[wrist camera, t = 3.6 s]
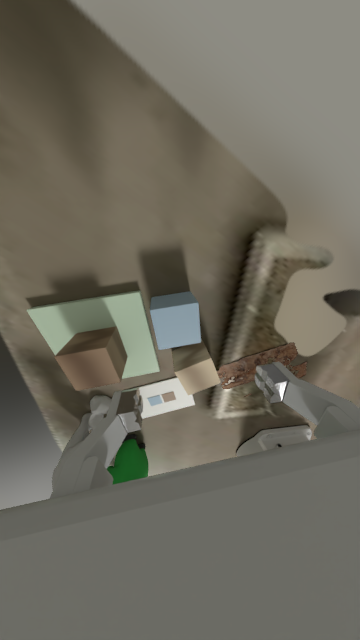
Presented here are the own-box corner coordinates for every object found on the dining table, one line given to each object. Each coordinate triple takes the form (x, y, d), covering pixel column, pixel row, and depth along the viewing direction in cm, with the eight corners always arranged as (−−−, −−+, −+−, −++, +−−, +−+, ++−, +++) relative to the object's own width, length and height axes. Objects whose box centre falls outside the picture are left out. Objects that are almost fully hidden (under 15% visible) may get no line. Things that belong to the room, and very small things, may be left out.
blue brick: (190, 291, 21) (198, 302, 17) (193, 324, 24) (201, 342, 19) (151, 297, 21) (149, 310, 17) (158, 330, 23) (158, 349, 19)
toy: (105, 438, 33) (70, 565, 20) (152, 421, 33) (147, 540, 20) (126, 456, 38) (108, 571, 24) (167, 442, 37) (173, 550, 24)
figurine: (131, 420, 32) (111, 545, 19) (91, 433, 32) (43, 566, 19) (106, 390, 27) (56, 527, 14) (59, 406, 28) (-33, 556, 14)
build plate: (140, 290, 20) (139, 292, 19) (159, 367, 27) (159, 371, 26) (32, 307, 19) (26, 310, 19) (78, 382, 26) (75, 387, 25)
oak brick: (201, 338, 25) (211, 358, 21) (210, 360, 28) (220, 382, 23) (171, 350, 26) (174, 372, 21) (183, 371, 28) (188, 395, 24)
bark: (306, 332, 28) (309, 334, 27) (306, 373, 33) (308, 375, 32) (197, 374, 29) (198, 376, 29) (213, 407, 34) (214, 409, 34)
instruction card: (186, 374, 28) (186, 375, 28) (194, 403, 32) (194, 405, 32) (124, 390, 28) (124, 392, 28) (140, 418, 32) (140, 419, 32)
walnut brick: (116, 326, 21) (105, 347, 17) (127, 356, 23) (120, 382, 19) (76, 333, 21) (54, 356, 16) (92, 363, 23) (76, 390, 19)
